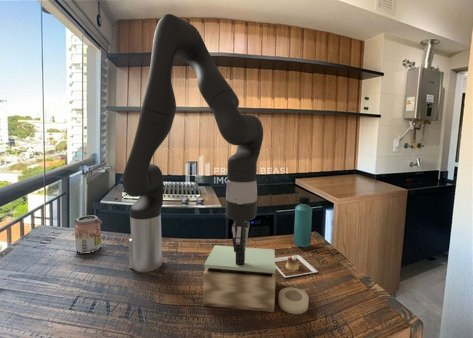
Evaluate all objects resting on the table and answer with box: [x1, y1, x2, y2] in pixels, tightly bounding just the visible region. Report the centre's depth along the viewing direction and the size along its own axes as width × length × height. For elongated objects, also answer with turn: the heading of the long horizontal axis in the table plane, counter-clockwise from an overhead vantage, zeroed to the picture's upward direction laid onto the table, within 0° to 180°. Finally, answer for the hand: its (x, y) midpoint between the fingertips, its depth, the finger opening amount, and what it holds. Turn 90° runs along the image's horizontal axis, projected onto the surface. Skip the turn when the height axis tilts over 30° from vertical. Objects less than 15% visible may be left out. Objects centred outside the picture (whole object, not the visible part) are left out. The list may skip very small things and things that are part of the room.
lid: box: [203, 245, 276, 274], centre depth 74 cm, size 18×14×1 cm
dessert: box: [275, 254, 319, 279], centre depth 90 cm, size 12×12×5 cm
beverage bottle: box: [293, 195, 313, 248], centre depth 103 cm, size 6×7×20 cm
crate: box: [202, 268, 276, 313], centre depth 75 cm, size 18×14×9 cm
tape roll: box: [278, 286, 310, 315], centre depth 71 cm, size 8×8×2 cm
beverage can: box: [74, 214, 103, 253], centre depth 99 cm, size 9×8×12 cm
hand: (240, 263), depth 69 cm, fingers closed
